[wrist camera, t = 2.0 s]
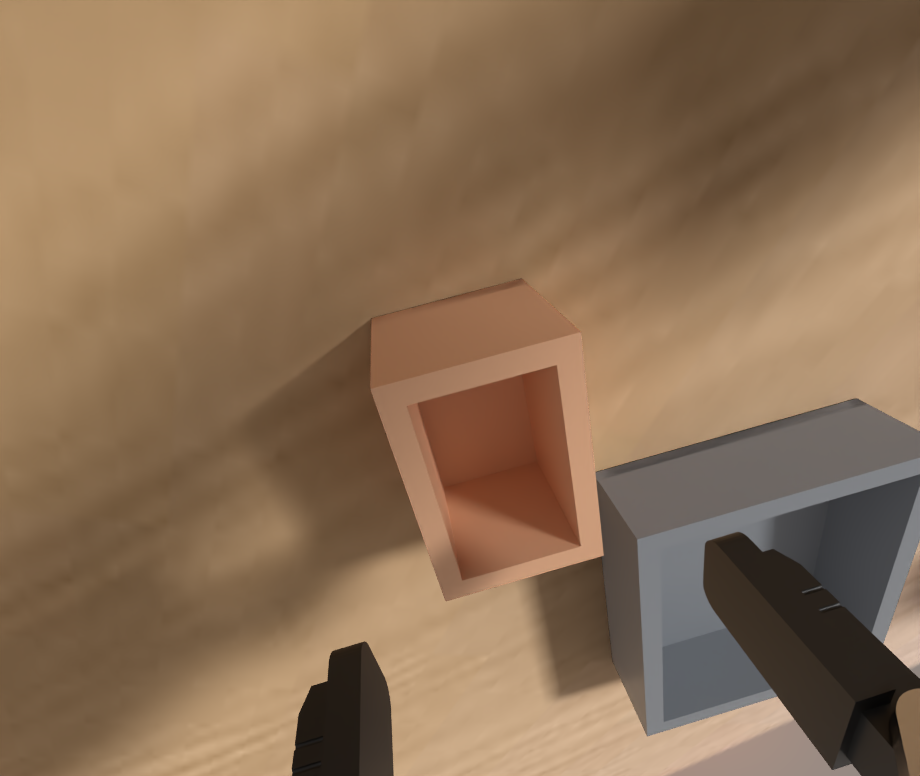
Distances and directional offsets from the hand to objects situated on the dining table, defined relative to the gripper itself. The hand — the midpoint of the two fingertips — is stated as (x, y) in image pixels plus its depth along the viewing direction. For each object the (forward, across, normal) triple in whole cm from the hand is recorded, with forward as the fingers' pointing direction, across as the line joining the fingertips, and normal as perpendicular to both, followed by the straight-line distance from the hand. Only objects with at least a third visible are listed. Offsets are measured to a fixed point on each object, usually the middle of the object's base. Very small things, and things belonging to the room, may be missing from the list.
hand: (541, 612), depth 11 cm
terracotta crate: (+11, 0, 0) cm, 11 cm away
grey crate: (+11, -12, +14) cm, 22 cm away
